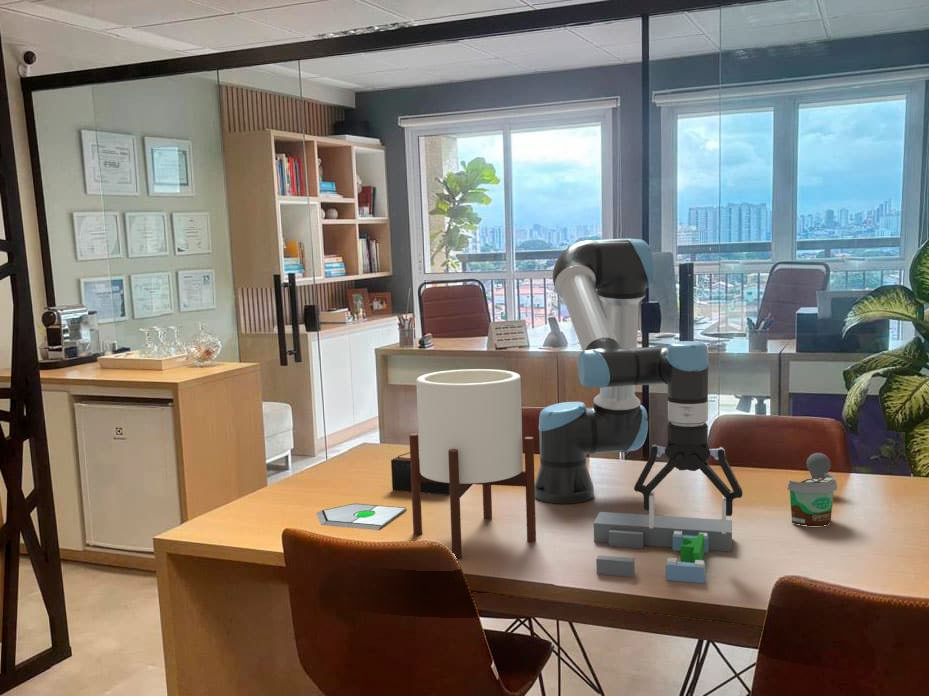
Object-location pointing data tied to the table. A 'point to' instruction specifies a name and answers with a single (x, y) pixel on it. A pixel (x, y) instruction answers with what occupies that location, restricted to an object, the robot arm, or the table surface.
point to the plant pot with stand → (470, 441)
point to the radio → (403, 478)
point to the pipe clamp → (692, 549)
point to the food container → (812, 500)
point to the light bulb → (818, 465)
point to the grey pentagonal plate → (359, 516)
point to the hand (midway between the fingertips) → (687, 529)
